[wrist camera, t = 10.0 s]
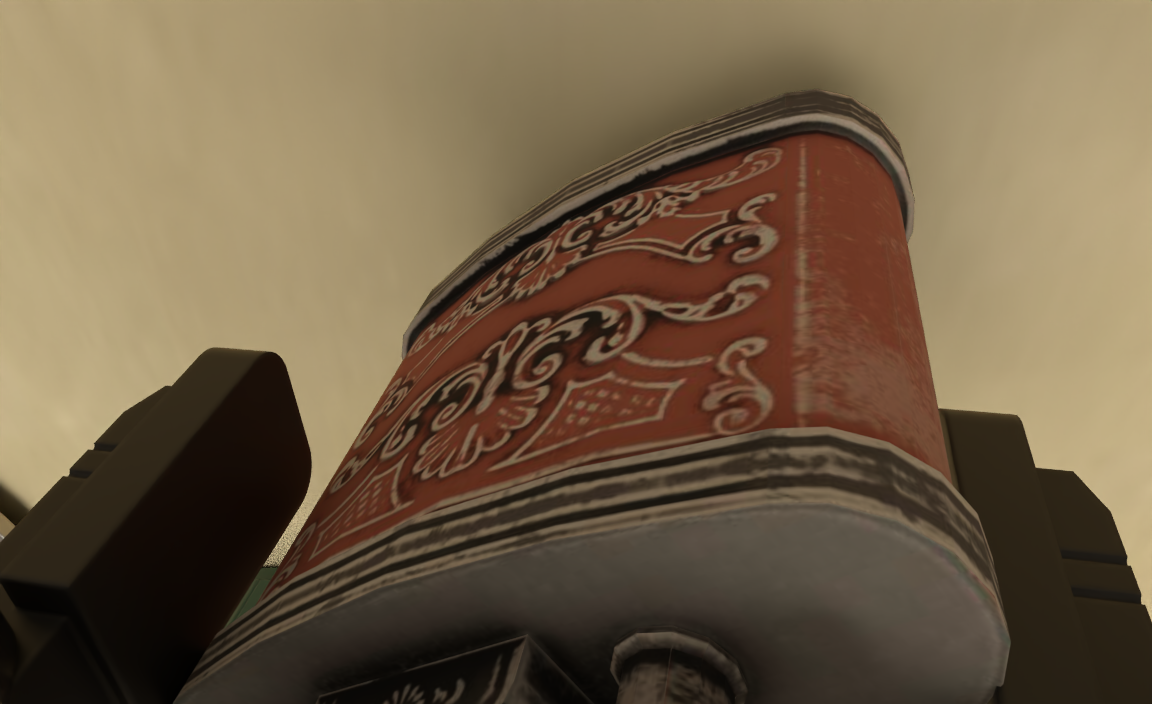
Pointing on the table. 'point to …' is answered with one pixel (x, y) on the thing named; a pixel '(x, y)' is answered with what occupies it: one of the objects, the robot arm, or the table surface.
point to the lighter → (653, 457)
